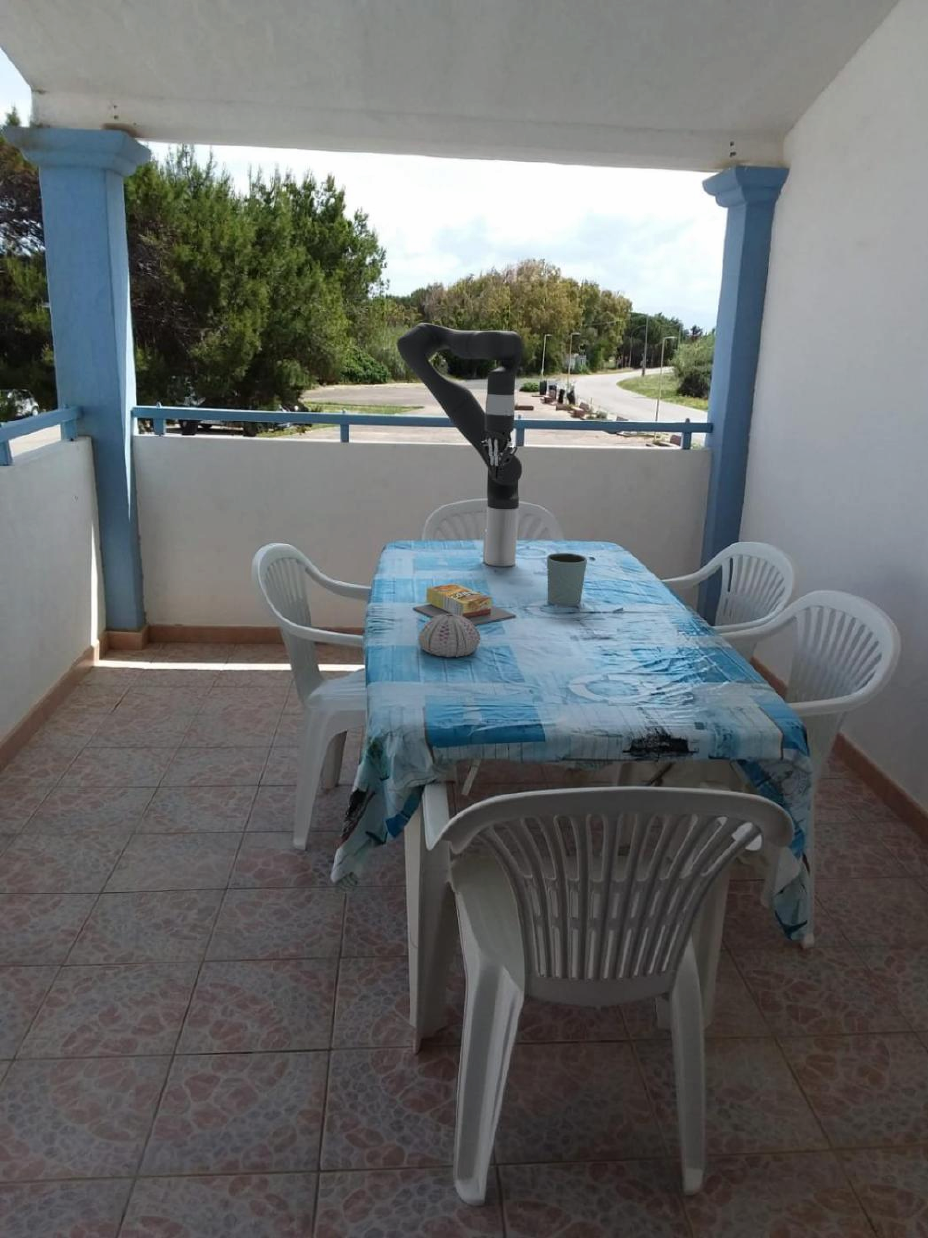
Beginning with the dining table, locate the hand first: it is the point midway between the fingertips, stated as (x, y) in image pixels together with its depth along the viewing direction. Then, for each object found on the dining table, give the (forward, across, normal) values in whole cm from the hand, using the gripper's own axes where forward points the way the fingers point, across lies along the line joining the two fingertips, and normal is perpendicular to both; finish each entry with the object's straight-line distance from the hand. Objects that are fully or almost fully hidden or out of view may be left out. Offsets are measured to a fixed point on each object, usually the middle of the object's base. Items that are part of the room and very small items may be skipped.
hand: (496, 479), depth 228 cm
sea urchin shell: (+29, +35, -41) cm, 61 cm away
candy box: (+26, +6, -22) cm, 35 cm away
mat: (+29, +16, -22) cm, 40 cm away
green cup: (+29, +22, +6) cm, 37 cm away
